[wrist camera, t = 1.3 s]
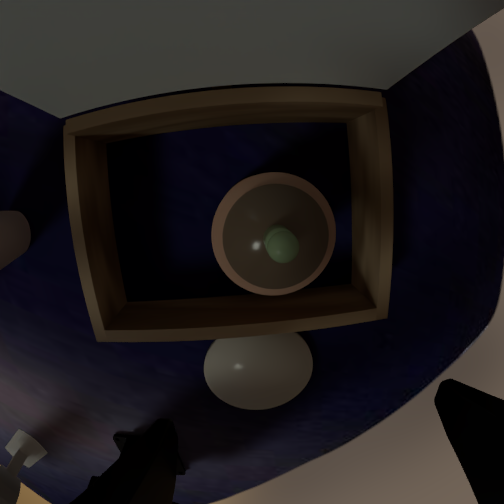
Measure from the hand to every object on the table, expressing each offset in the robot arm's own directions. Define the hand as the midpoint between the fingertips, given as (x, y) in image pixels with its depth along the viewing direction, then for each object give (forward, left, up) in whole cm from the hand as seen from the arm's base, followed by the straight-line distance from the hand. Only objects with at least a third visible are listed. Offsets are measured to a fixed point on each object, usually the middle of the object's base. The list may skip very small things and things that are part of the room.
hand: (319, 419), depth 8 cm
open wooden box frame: (+6, +2, -13) cm, 15 cm away
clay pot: (+4, 0, -13) cm, 14 cm away
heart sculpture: (-25, +36, -13) cm, 46 cm away
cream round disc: (-7, +1, -13) cm, 15 cm away
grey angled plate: (+12, +2, -2) cm, 13 cm away
